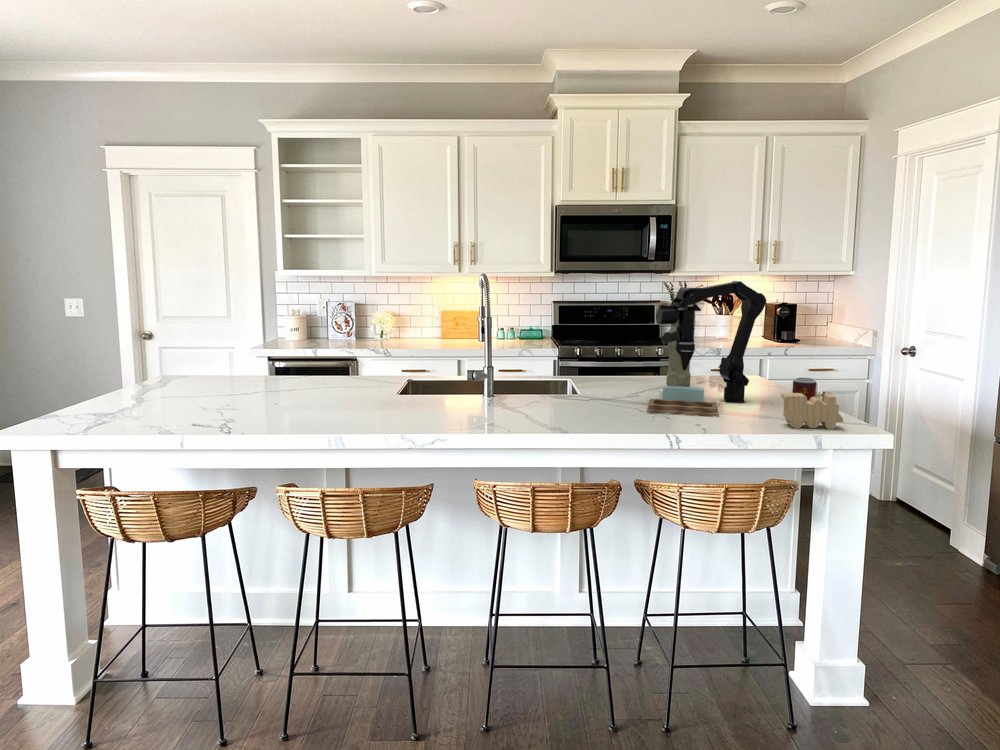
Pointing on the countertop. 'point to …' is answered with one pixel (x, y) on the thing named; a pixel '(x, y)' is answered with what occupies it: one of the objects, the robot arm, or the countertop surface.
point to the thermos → (676, 365)
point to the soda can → (805, 387)
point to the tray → (683, 407)
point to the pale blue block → (682, 393)
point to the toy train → (811, 410)
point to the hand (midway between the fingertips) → (684, 368)
